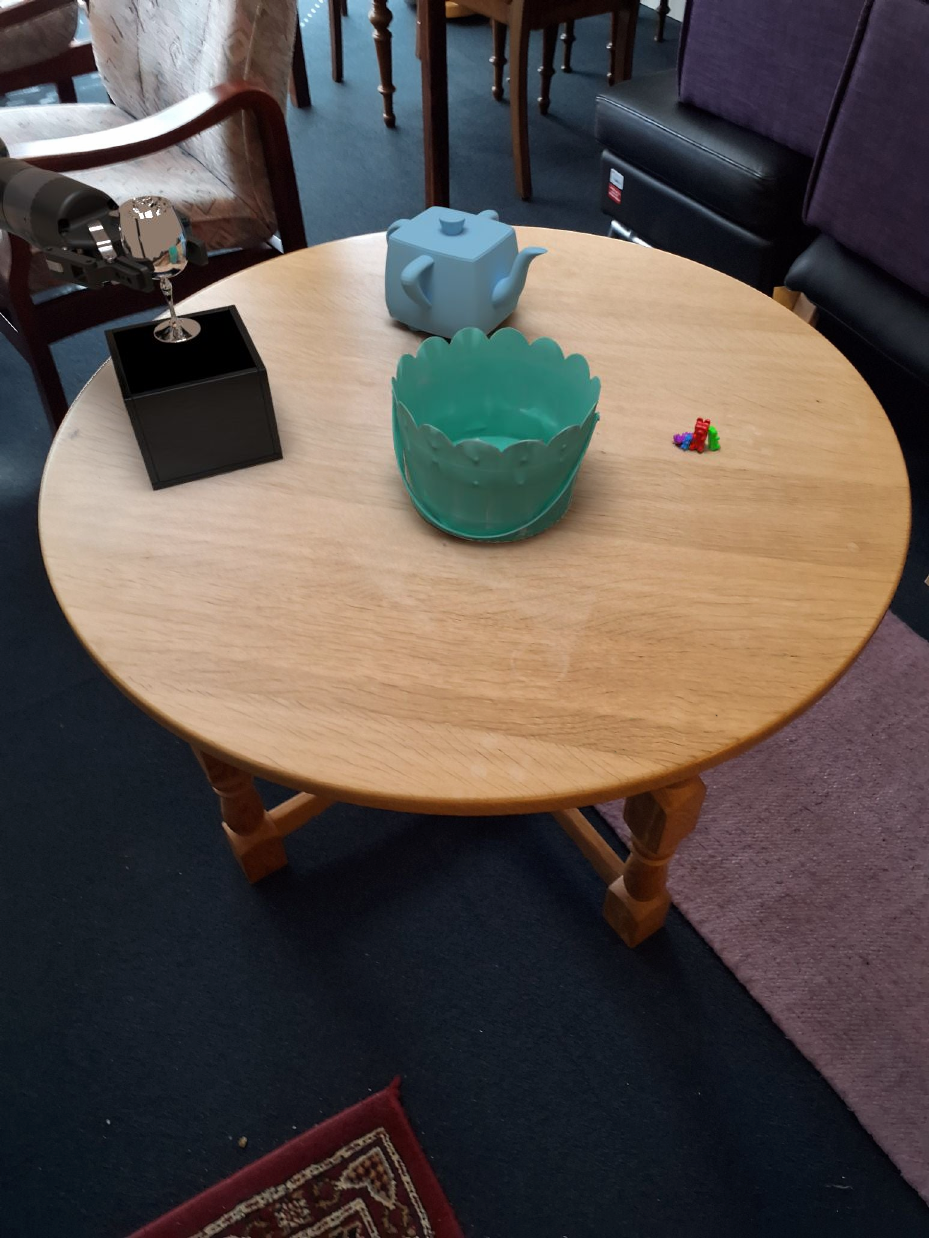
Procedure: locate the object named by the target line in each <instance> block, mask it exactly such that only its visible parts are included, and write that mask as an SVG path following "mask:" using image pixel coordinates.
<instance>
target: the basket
mask: <svg viewBox="0 0 929 1238" xmlns="http://www.w3.org/2000/svg"><path fill="white" fill-rule="evenodd" d="M589 365H590V364H589V362H588V361H587V358H586V357H585V356H584V355H583V354H581V353H577V352H576V353H571V354H569V355H568V356H566V357H565V355H564V352H563V350H562V347H561V346H560V345H559V343H558V342H557V341H556V340H554V339H553V338H551V337H548V336H540V337H538V338H536V339H534V340H533V341H531V343H530V344H529V341H528V339H527V338H526V336H525V335H524V333H522V332H521V331H520V330H518V329H516V328H513V327H502V328H500V329H497V330H496V331H495V332H494V333H493V334H492V335H491V336H490V338H489V337H488V335H486V334H485V333H484V332H482V331H481V330H480V329H478V328H472V327H469V328H464V329H462V330H460V331H458V332H457V333H456V334H455V336H454V337H453V339H452V341H451V340H450V343H448V342H447V340H446V339H444V337H441V336H439V335H435V336H430V337H428V338H426V339H425V340H423V341H422V343H421V344H420V345H419V347H418V350H417V352H416V357H415V356H414V355H413V354H411V353H409V352H408V353H407V352H406V353H403V354H402V355H401V356H400V357H399V359H398V361H397V365H396V372H395V375H396V377H395V376H391V377H390V381H391V383H390V384H391V387H392V388H391V395H392V396H391V398H392V399H391V400H392V401H391V424H392V440H393V448H394V454H395V459H396V463H397V466H398V470H399V473H400V476H401V479H402V481H403V483H404V486H405V488H406V490H407V492H408V494H409V496H410V499H411V503H412V505H413V506H414V509H415V510H417V512H418V514H419V515H421V517H422V518H423V520H426V522H427V523H429V524H430V525H433V527H434V528H436V529H439V530H440V531H442V532H444V533H446V534H448V535H450V536H454V537H456V538H461V539H464V540H467V541H470V540H471V541H472V542H481V543H490V544H491V543H492V544H495V543H506V542H510V543H511V542H514V541H521V540H524V539H528V538H530V537H534V536H537V535H538V534H540V533H544V532H545V531H546V530H548V529H550V528H552V526H555V525H556V524H557V523H558V522H559V521H560V520H561V519H562V518H563V517H564V516H565V515H566V513H567V511H568V510H569V508H570V506H571V504H572V501H573V497H574V491H575V489H576V485H577V481H578V476H579V473H580V469H581V466H582V462H583V460H584V458H585V455H586V453H587V450H588V448H589V446H590V443H591V440H592V438H593V434H594V431H595V429H596V425H597V423H598V422H600V419H601V415H600V411H597V412H596V410H597V406H598V404H599V399H600V394H601V388H602V383H601V379H600V377H599V376H597V375H594V376H593V377H592V378H591V370H590V366H589Z"/></svg>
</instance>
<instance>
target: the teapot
mask: <svg viewBox="0 0 929 1238" xmlns="http://www.w3.org/2000/svg"><path fill="white" fill-rule="evenodd" d="M385 237H386V238H385V240H386V244H387V247H386V256H385V267H384V298H385V299H384V300H385V305H386V308H387V311H388V314H389V316H390V317H391V318H392V319H393V320H394V321H395V320H396V321H397V322H400V323H402V324H405V325H407V327H408V328H409V329H410V330H411V331H416V332H417V331H418V332H419V331H421V332H422V331H423V332H426V333H429V334H433V335H435V336H438V337H441V338H445V339H450V342H451V341H452V339H453V337H454V336H455V334H456V333H457V332H458V331H460V330H462V329H464V328H469V327H472V328H478V329H480V330H481V331H482V332H484V333H485V334H486V336H488V335H489V334H490V333H491V332H492V331H494V330H495V329H496V328H497V327H498V326H500V325H501V324H502V323H503V322H504V321H505V320H506V319H507V318H508V317H509V316H511V314H512V313H514V311H515V310H516V309H517V306H518V303H519V299H520V296H521V295H522V293H523V291H524V288H525V285H526V282H527V277H528V271H529V268H530V265H531V263H532V262H533V260H534V259H535V258H537V257H539V256H541V255H544V254H547V253H548V249H547V248H544V247H542V246H541V247H540V246H528V247H524V248H523V249H522V250H520V251H519V246H518V239H517V232H516V229H515V228H514V227H513V226H512V225H510V224H507V223H504V222H501V221H500V217H499V214H498V212H497V211H496V210H493V209H486V210H482V211H481V212H480V213H478V214H473V213H470V212H467V211H461V210H457V209H452V208H448V207H444V206H431V207H429V208H428V209H426V210H424V211H422V212H421V213H419V214H417V215H416V216H415V217H413V218H412V219H408V218H401V219H397V220H395V221H394V222H392V223H391V224H390V226H389V227H388V228H387V230H386V233H385Z"/></svg>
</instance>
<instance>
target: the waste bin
mask: <svg viewBox="0 0 929 1238" xmlns="http://www.w3.org/2000/svg"><path fill="white" fill-rule="evenodd" d="M176 316H177V318H187V319H192V320H194V321H196V322H198V323H199V325H200V332H199V333H198V335H196V336H195V337H194V338H192V339H190V340H187V341H184V342H178V343H168V342H163V341H160V340H158V339H157V338H156V337H155V335H154V330H155V328H156V327H157V326H158V325H159V324H161V323H163V322H165V321H167V320H171V316H170V317H165V318H159V319H154V320H150V321H144V322H139V323H135V324H130V325H124V326H118V327H115V328H114V327H113V328H110V329H109V328H108V329H104V330H103V333H104V336H105V340H106V344H107V348H108V351H109V355H110V358H111V361H112V365H113V369H114V373H115V377H116V379H117V383H118V387H119V390H120V394H121V397H122V401H123V404H124V406H125V407H124V408H125V410H126V413H127V416H128V419H129V422H130V425H131V428H132V431H133V434H134V437H135V440H136V443H137V445H138V450H139V452H140V455H141V458H142V461H143V464H144V467H145V469H146V473H147V475H148V478H149V481H150V484H151V488H152V490H153V491H157V490H161V489H166V488H170V487H175V486H177V485H182V484H185V483H190V482H194V481H198V480H202V479H206V478H210V477H214V476H218V475H223V474H226V473H231V472H233V471H234V472H235V471H238V470H242V469H247V468H251V467H254V466H259V465H262V464H267V463H271V462H274V461H279V460H282V459H284V453H283V449H282V443H281V439H280V434H279V433H280V432H279V428H278V422H277V418H276V411H275V406H274V402H273V397H272V392H271V390H272V389H271V385H270V381H269V377H268V376H269V375H268V370H267V367H266V365H265V363H264V361H263V359H262V357H261V355H260V352H259V351H258V348H257V347H256V344H255V342H254V341H253V338H252V337H251V335H250V332H249V330H248V329H247V327H246V324H245V322H244V321H243V319H242V316H241V314H240V312H239V310H238V307H237V306H236V304H230V305H224V306H220V307H215V308H208V309H204V310H199V311H195V312H190V313H184V314H179V315H176Z"/></svg>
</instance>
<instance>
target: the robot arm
mask: <svg viewBox="0 0 929 1238" xmlns="http://www.w3.org/2000/svg"><path fill="white" fill-rule="evenodd" d="M119 207H120V205H119V204H118V203H117V201H116V200H114V198H113V197H112V196H110V195H109V194H108V193H107V192H105V191H104V190H101V189H99V188H97V187H94V186H92V185H89V184H87V183H84V182H82V181H80V180H77V179H75V178H72V177H69V176H68V175H64V174H62V173H59V172H56V171H53V170H48V169H43V168H41V167H38V166H36V165H33V164H31V163H28V162H26V161H23V160H20V159H17V158H14V157H11V155H10V151H9V149H8V146H7V145H6V143H5V141H4V139H2V138H1V137H0V230H3V231H5V232H8V233H11V234H12V235H15V236H17V237H19V238H21V239H23V240H25V241H26V242H27V243H28V244H29V245H31V246H33V247H34V248H36V249H38V250H40V251H42V253H43V256H44V259H45V262H46V264H47V267H48V270H49V273H50V275H51V277H52V278H55V279H58V280H59V281H64V282H67V283H70V284H73V285H76V286H80V287H83V288H87V289H89V290H93V291H98V290H101V289H103V288H104V287H105V286H104V283H107V282H110V284H112V285H121V284H122V285H124V286H126V287H128V288H130V289H132V290H135V291H141V292H143V293H146V294H149V293H150V292H153V291H154V290H155V284H154V281H153V280H154V279H152V276H151V273H150V271H149V269H148V268H147V267H146V266H144V265H142V264H139V263H137V262H135V261H132V260H130V259H128V258H126V257H125V255H124V252H123V249H122V245H121V240H120V232H119V211H118V210H119ZM175 209H176V208H175ZM176 211H177V213H178V215H179V218H180V220H181V222H182V225H183V227H184V230H185V233H186V236H187V240H188V247H189V258H188V261H187V262H190V263H191V264H194V265H196V266H199V267H204V266H205V265H208V264H209V255H208V251H207V246H206V242H205V241H204V239H201V238H199V237H196V236H194V231H193V228H192V227H193V226H192V220H191V217H190V216H189V215H187V214H185V213H183V212H181V211H180V210H178V209H176Z"/></svg>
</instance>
